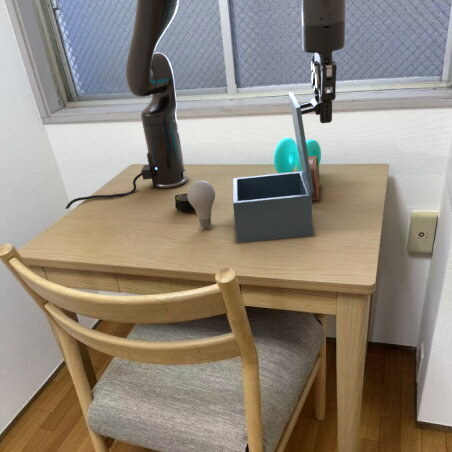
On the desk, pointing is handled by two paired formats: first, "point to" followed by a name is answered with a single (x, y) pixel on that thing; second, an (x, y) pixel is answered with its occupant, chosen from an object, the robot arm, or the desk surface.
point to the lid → (303, 134)
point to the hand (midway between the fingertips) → (323, 118)
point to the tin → (314, 176)
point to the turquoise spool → (293, 154)
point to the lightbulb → (202, 201)
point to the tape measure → (183, 203)
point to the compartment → (272, 207)
